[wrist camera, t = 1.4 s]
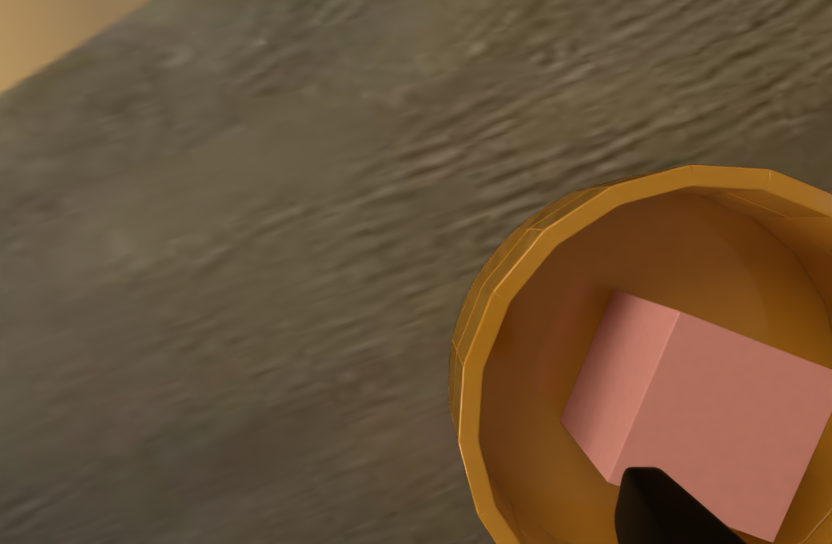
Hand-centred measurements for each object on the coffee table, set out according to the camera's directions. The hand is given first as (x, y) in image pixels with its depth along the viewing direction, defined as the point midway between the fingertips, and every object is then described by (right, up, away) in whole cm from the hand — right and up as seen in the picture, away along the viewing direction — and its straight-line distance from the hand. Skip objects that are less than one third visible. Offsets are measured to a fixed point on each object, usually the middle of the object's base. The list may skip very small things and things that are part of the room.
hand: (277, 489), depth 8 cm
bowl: (+10, -1, +14) cm, 17 cm away
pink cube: (+10, -1, +13) cm, 17 cm away
